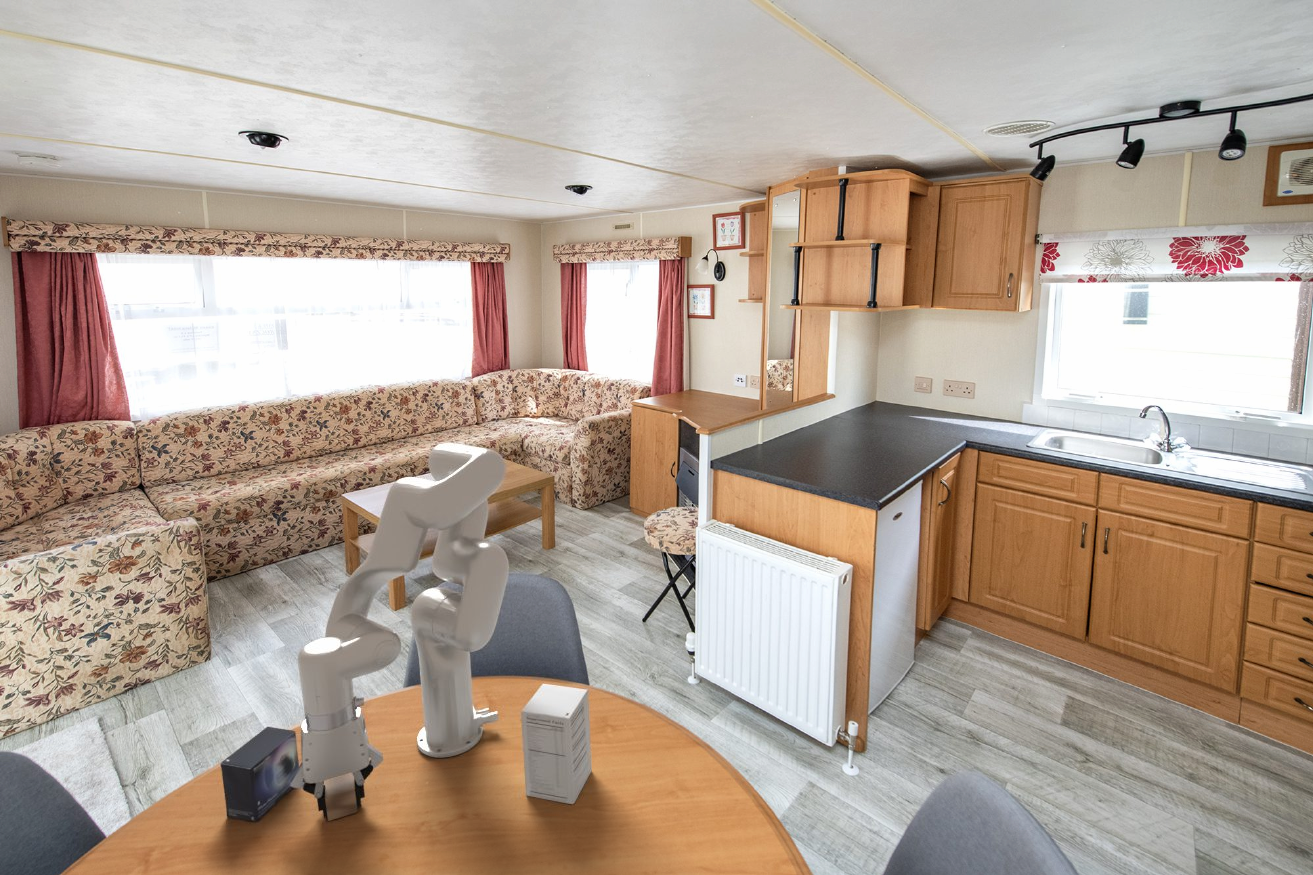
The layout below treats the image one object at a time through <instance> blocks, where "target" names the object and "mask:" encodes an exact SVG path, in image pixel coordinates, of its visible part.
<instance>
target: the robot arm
mask: <svg viewBox="0 0 1313 875" xmlns="http://www.w3.org/2000/svg"><path fill="white" fill-rule="evenodd" d="M427 462H428V470H429V473H430V474H431V476H432V478H433V479H431V478H430V479H429V478H425V477H417V476H407V477H402V478H399V479H398V480H396V481H395V482H393V484H392V485H391V486H390V488H389V490H388V492H387V495H386V498H385V501H384V504H383V508H382V510H381V513H380V517H379V521H378V523H377V526H376V529H375V532H374V536H373V540H372V542H371V545H370V549H369V552H368V554H367V556H366V558H365V560H364V562H362V563H361V564H360V566H358V567H357V568H356V569H355V570H354V571H353V572H352V574H351V575H350V576H349V577H348V578H347V580H346V581H345V582H344V583H343V585H342V586H341V588H340V589H339V590H338V592H337V594H336V596H335V598H334V601H333V604H332V607H331V610H330V614H329V616H328V620H327V623H326V627H325V633H324V634H325V636H324V637H321V638H316V639H315V640H312V641H310V642H308V643H307V644H305V645H304V646H303V647H302V648H301V649H300V650H299V652H298V655H297V665H298V673H299V681H300V687H301V696H302V701H303V710H304V718H305V719H304V720H303V721H302V724H301V729H300V730H301V731H300V753H301V754H300V755H301V763H299V767H298V769H297V771H296V772H295V774H294V775H293V777H292V778H291V783H290V786H291V787H294V788H293V789H300V790H303V791H304V792H307V793H309V794H311V795H313V797H314V798H316V800H317V801H316V802H317V808H318V812H321V811H322V814H323V818H328V817H327V809H326V801H325V785H326V784H325V782H326V781H327V780H330V779H334V778H337V777H341V776H344V775H348V774H351V773H352V774H353V776H354V778H355V794H356V803H357V808H360V807H362V800H361V799H364V798H366V793H365V781H366V779H367V778H368V777H369V776H370V775H371V774H372V773H373V771H374V769H375V768H377V767H378V766H379V765H380V764H381V763H382V762H383V761H384V755H383V753H382V752H381V751H379V750H378V748H376V747H374V746H373V745H371V744H370V742H369V736H368V731H367V730H368V729H367V726H366V722H365V718H364V714H363V712H362V708H360V707H362V706H365V697H364V696H363V697H357V696H355V692H354V685H353V684H354V683H353V679H356V678H360V677H363V676H367V675H369V674H370V675H371V674H372V673H376V672H380V671H382V670H384V669H385V668H387V667H389V666H390V665H391V664H393V663H394V661H395V660H396V659H397V658H398V656H399V654H401V653H400V652H401V649H402V642H401V638H400V637H399V636H400V635H398V633H397V632H395V631H394V630H393V629H391V628H389V627H387V626H386V625H382V624H381V623H378V622H376V621H374V620H371V619H370V618H368V616H369V614H370V610H371V607H372V604H373V602H374V599H375V598H376V596H377V595H378V592H379V591H380V590H381V589H382V588H383V587H384V586H385V585H386V584H388V583H389V582H391V581H393V580H395V579H397V578H400V577H402V576H405V575H406V576H407V575H410V574H411V573H413V572H414V571H415V570H416V569H417V568H418V564H419V561H420V557H421V555H422V551H423V547H424V544H425V541H426V538H427V535H428V531H429V530H433V531H439V532H438V536H437V539H436V544H435V547H434V551H433V555H432V558H431V559H432V560H431V561H432V562H431V569H432V572H433V574H434V575H435V576H436V577H437V578H438V579H440V580H442V581H445V582H447V583H449V584H453V585H455V586H458V587H462V592H459V591H457V590H456V591H455V590H453V589H450V588H446V587H438V586H436V587H431V588H427V589H425V590H423V591H422V592H421V593H419V594H418V596H416V598H415V599H414V601H413V603H412V605H411V608H410V617H409V618H410V620H409V621H410V626H411V631H412V633H413V637H414V640H415V644H416V648H417V654H418V661H419V662H418V664H419V677H420V678H419V679H420V688H421V689H420V690H421V700H422V711H423V712H422V713H423V715H422V716H423V726H424V727H423V728H422V729H420V731H419V732H418V734H417V737H416V738H417V739H416V743H417V744H416V745H417V748H418V750H419V751H420V752H421V753H422V754H424V756H425V755H426V756H428V757H432V758H450V757H453V756H454V757H455V756H457V755H460V754H463V753H465V752H467V751H469V750H471V749H472V748H474V747H475V746H476V745H477V744H478V742H479V741H480V740H481V739H482V737H483V732H484V730H483V729H484V728H483V726H484V725H486V724H491V723H494V722H495V723H496V722H498V721H499V714H498V711H497V710H496V711H492V712H490V709H489V707H485V708H482V709H479V710H478V709H475V707H474V702H473V701H474V699H473V698H474V697H473V684H472V683H473V681H472V670H471V669H472V668H471V666H472V665H471V654H470V653H473V652H476V651H479V650H481V649H483V648H484V647H485V646H486V645H487V643H488V642H490V640H491V638H492V636H493V634H494V632H495V629H496V626H497V622H498V618H499V615H500V611H501V608H502V607H501V606H502V603H503V600H504V599H503V598H504V595H505V590H506V587H507V583H508V578H509V570H510V566H509V564H510V562H509V558H508V555H507V553H506V551H505V549H504V548H502V546H500V545H499V544H497V543H495V542H492V541H488V540H485V535H486V534H485V533H486V529H487V523H488V519H489V510H490V509H489V501H488V499H489V498H490V497H491V496H492V495H493V494H495V492H496V491H497V490H498V489H499V488H500V486H501V485H502V484H503V482H504V480H505V478H506V473H507V465H506V461H505V459H504V457H502V455H501V454H500V453H499V452H498V451H496V450H493V449H491V448H486V447H481V446H474V445H469V444H463V443H455V442H446V443H445V442H444V443H440V444H438V445H436V446H434V447H433V448H432V450H431V451H430V453H429V456H428V460H427Z"/></svg>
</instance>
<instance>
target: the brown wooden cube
mask: <svg viewBox="0 0 1313 875" xmlns="http://www.w3.org/2000/svg"><path fill="white" fill-rule="evenodd" d="M324 785H325V801H326V809H327V817H326V818H327V821H328V822H330V821H334V820H337V819H340V818H344V817H347V816H350V815H353V814H355V813H358V807H357V803H356V794H355V778H354V776H353V774H352V773H349V774H346V775H342V776H339V777H335V778H332V779H328V780H325V784H324Z"/></svg>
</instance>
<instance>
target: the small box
mask: <svg viewBox="0 0 1313 875" xmlns="http://www.w3.org/2000/svg"><path fill="white" fill-rule="evenodd" d="M298 754H299V752H298V744H297V734H296V731H295V730H292V729H285V728H280V727H272V726H266V727H265V728H264V729H263V730H261V731H260V732H258V733H257V734H256V735H255V736H253V737H252V738H251V739H250V740H248V741H247V742H245V743H244V744H243V745H241V746H240V747H239V748H238V749H236V750H235V751H234V752H233V753H232V754H230V755H229V756H227V758H225V759H224V760H223V761H221V762H220V770H221V776H222V783H223V784H222V786H223V792H224V800H225V809H226V817H227V818H230V819H231V818H232V819H236V820H241V821H247V822H253V823H258V821H259V820H260V819H261V818H263V817H264V816H266V814H267V813H268V812H269V811H270V810H272V808H273V807H275V806H276V805H277V804H278V803H279V802H280V801H281V800H282V799H283V798H284V797H285V796H286V795H287V794H288V793H289V792H291V791H292V789H295V788H294V787H291V786H290V783H291V778H292V777H293V775H294V774H295V772H296V771H297V769H298V767H299V766H300V763H299V762H300V761H299V755H298Z"/></svg>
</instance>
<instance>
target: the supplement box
mask: <svg viewBox="0 0 1313 875" xmlns="http://www.w3.org/2000/svg"><path fill="white" fill-rule="evenodd" d="M520 714H521V733H522V752H523V766H524V767H523V768H524V781H525V782H524V783H525V785H524V786H525V794H526V796H527V797H534V798H538V799H542V800H549V801H553V802H558V803H564V804H567V805H568V804H570V805H574V804H575V802H576V801H577V799H578V797H579V795H580V793H581V791H582V789H583V788H584V786H585V785H586V782H587V780H588V778H589V776H590V774H591V773H592V749H591V729H590V728H591V725H590V722H591V721H590V705H589V690H588V689H585V688H584V689H583V688H578V687H571V686H564V685H555V684H549V683H542V684H541V685H540V687H539V688H538V690H536V692H535V693H534V695H533V696H532V697H531V698H530V700H529V701H528V702H527V703H526V705H524V707H523V708H522V710H521V711H520Z"/></svg>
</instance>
